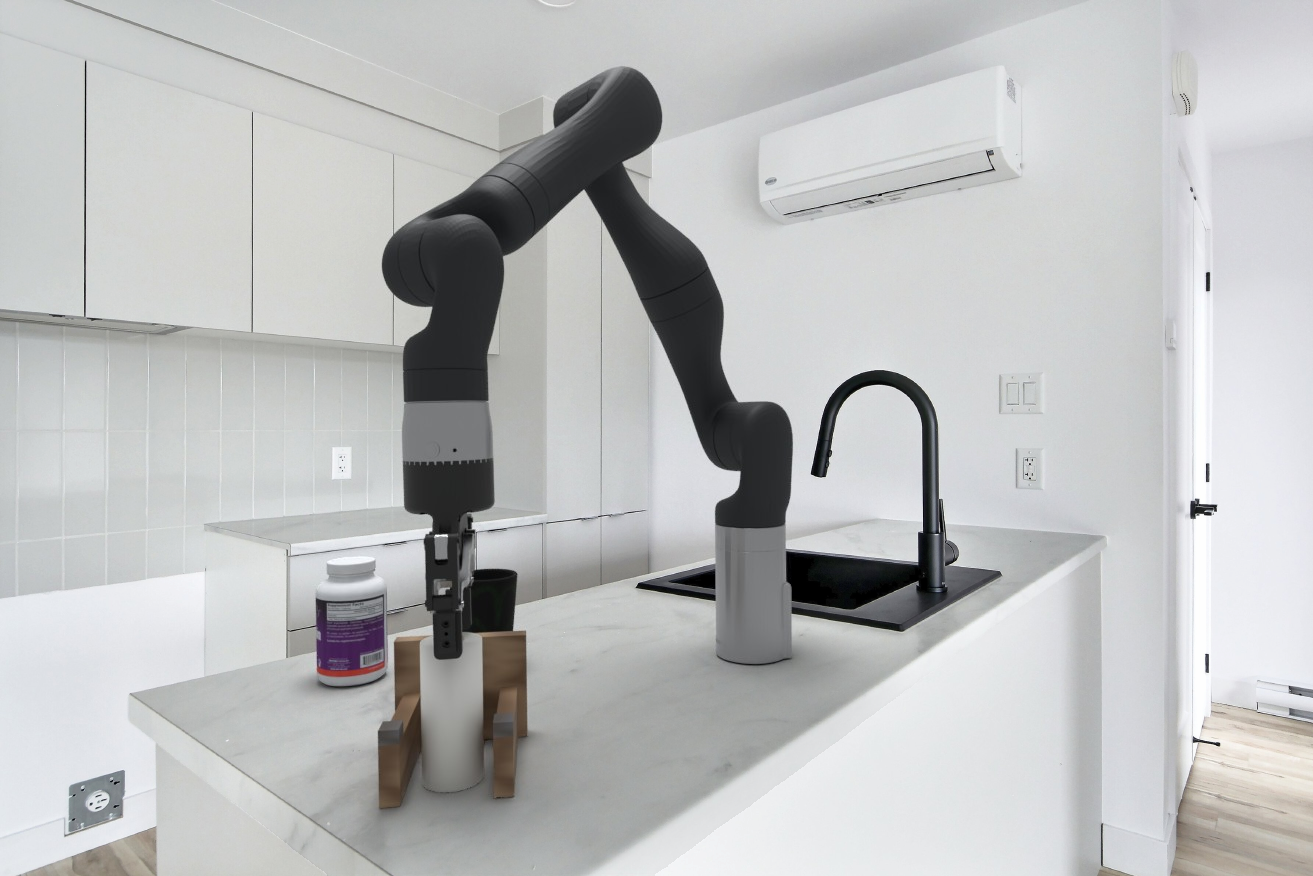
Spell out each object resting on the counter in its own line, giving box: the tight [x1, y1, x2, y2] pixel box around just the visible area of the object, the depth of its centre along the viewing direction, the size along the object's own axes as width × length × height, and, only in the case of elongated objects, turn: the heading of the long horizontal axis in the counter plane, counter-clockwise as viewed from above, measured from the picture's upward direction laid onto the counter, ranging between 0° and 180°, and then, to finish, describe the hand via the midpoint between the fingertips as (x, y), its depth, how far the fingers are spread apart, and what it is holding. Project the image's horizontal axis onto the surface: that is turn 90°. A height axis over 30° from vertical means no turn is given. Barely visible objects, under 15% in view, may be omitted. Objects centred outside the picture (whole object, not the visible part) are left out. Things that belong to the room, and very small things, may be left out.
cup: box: [462, 568, 518, 633], centre depth 94 cm, size 8×8×12 cm
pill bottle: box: [315, 555, 389, 687], centre depth 91 cm, size 8×8×14 cm
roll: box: [420, 632, 485, 794], centre depth 65 cm, size 5×5×12 cm
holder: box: [377, 630, 528, 809], centre depth 68 cm, size 12×14×10 cm
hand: (454, 642), depth 65 cm, fingers open, 8 cm apart
